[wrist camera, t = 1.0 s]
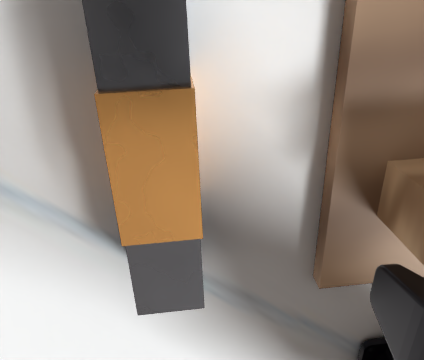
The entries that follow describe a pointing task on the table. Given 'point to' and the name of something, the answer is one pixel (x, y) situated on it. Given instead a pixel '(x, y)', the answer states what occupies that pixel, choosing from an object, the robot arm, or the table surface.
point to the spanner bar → (150, 145)
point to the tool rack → (375, 146)
